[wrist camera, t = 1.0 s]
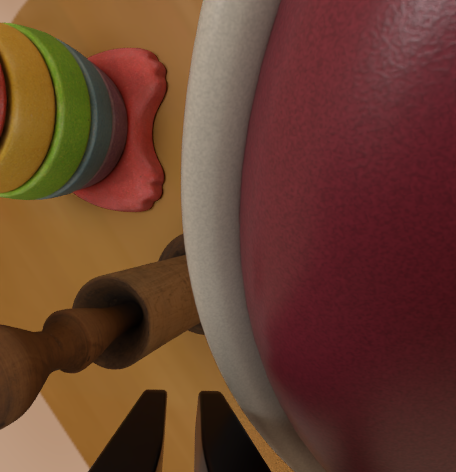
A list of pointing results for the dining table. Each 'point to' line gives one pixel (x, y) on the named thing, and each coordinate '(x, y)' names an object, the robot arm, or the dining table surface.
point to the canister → (328, 224)
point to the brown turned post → (100, 328)
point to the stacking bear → (78, 121)
